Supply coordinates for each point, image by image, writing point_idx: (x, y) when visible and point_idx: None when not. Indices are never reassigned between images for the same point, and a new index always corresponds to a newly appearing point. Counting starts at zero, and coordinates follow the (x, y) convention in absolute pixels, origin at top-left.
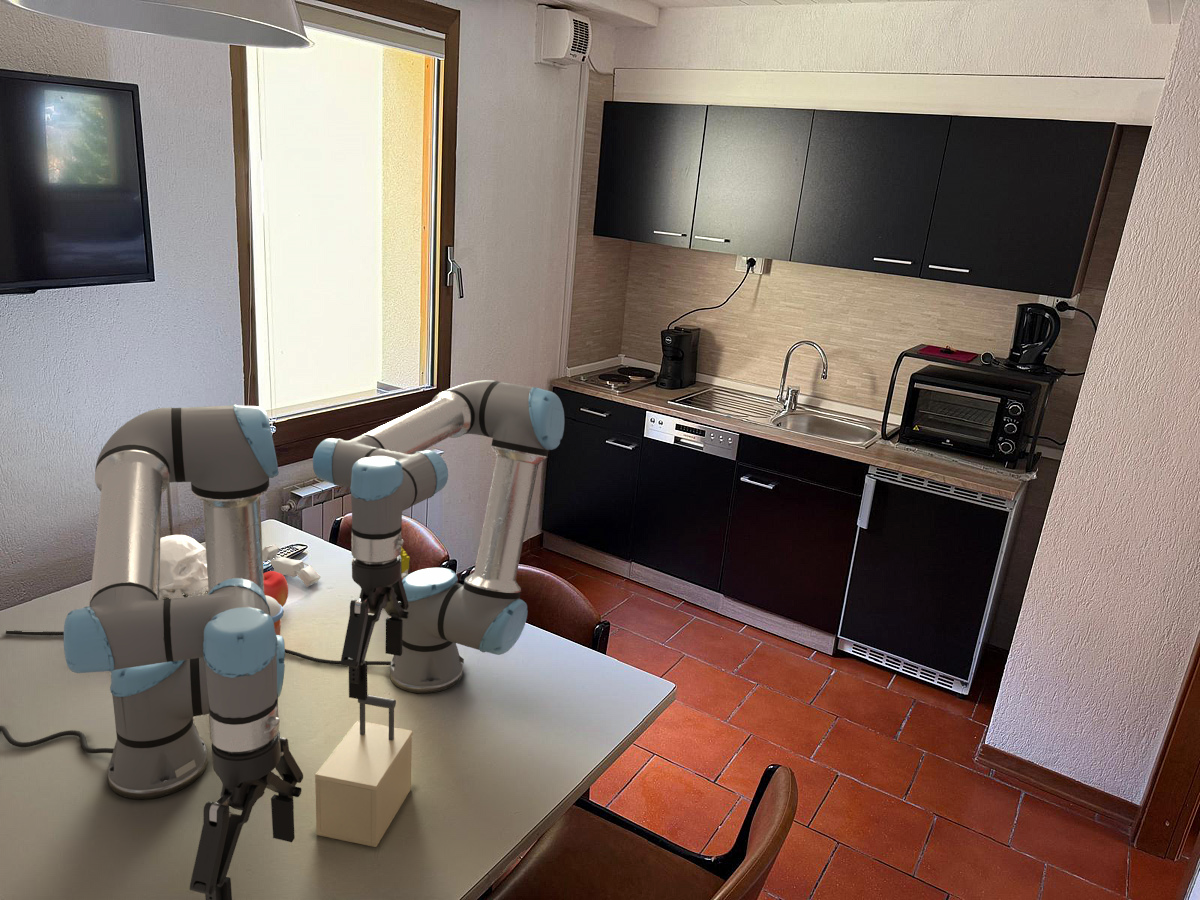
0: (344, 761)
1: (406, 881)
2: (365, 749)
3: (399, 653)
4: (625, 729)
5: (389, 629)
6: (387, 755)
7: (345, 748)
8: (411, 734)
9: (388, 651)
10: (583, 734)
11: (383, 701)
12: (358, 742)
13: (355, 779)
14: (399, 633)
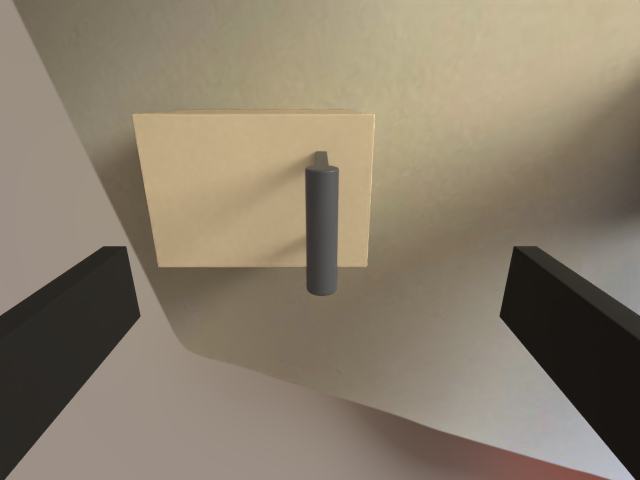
0: (204, 163)
1: (165, 282)
2: (264, 192)
3: (506, 318)
4: (550, 459)
5: (615, 357)
6: (261, 249)
7: (251, 141)
8: (356, 266)
9: (518, 266)
10: (532, 414)
11: (311, 263)
12: (284, 162)
13: (157, 217)
14: (582, 403)
